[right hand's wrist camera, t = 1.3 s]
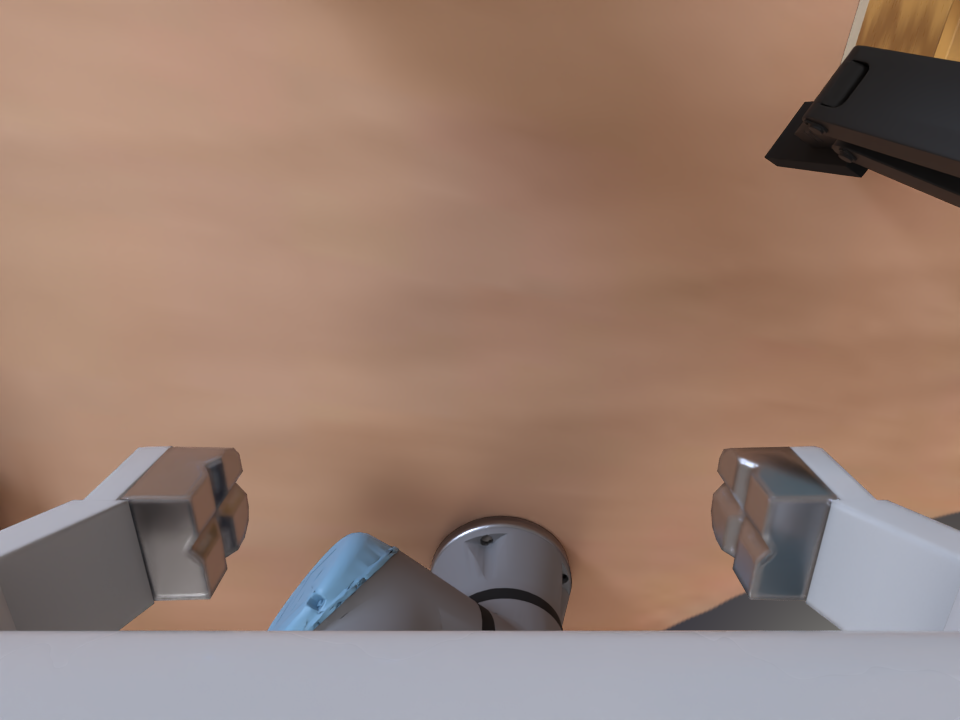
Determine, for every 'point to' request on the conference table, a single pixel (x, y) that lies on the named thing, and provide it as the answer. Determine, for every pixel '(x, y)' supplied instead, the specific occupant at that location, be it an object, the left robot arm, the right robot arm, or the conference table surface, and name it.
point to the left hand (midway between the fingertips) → (899, 213)
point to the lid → (950, 36)
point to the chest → (899, 25)
